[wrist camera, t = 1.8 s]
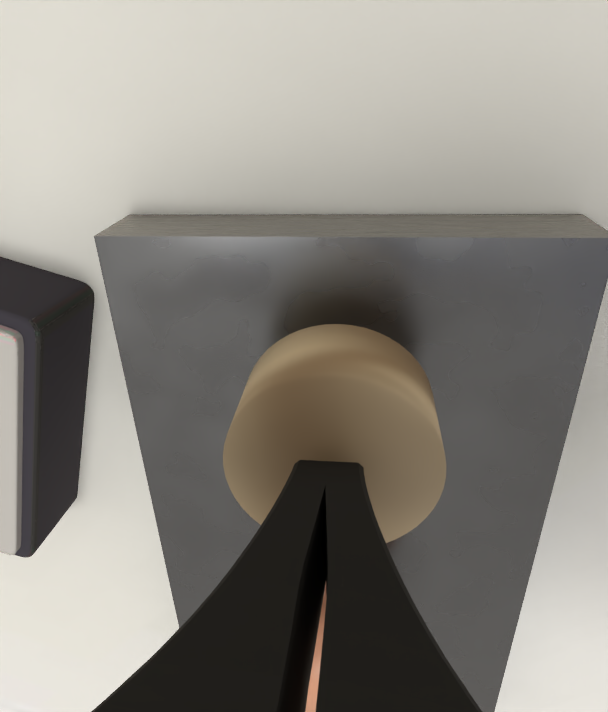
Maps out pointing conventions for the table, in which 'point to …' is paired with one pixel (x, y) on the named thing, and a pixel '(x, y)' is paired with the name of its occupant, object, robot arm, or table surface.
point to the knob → (339, 423)
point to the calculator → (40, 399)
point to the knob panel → (400, 323)
